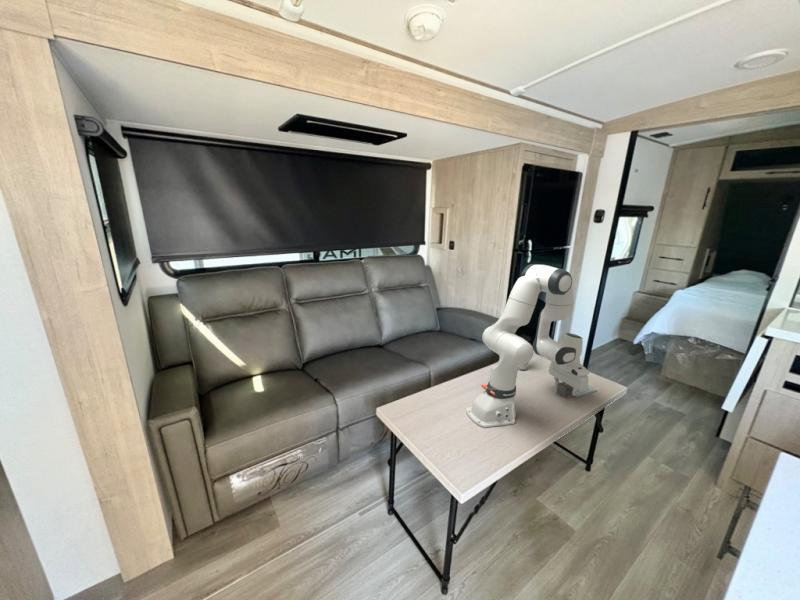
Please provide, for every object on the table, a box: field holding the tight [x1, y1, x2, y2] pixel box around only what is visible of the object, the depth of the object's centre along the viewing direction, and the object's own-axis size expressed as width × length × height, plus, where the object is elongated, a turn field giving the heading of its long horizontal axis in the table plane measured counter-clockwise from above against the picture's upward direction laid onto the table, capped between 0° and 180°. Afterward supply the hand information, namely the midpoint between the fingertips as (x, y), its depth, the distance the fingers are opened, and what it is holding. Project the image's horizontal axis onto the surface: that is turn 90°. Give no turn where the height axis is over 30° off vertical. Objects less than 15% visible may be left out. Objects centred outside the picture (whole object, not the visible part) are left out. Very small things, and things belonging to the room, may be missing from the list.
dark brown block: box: [556, 381, 573, 399], centre depth 157 cm, size 5×5×6 cm
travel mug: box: [518, 334, 532, 372], centre depth 182 cm, size 6×7×20 cm
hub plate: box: [573, 384, 598, 398], centre depth 163 cm, size 14×12×5 cm
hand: (565, 390), depth 158 cm, fingers open, 8 cm apart
